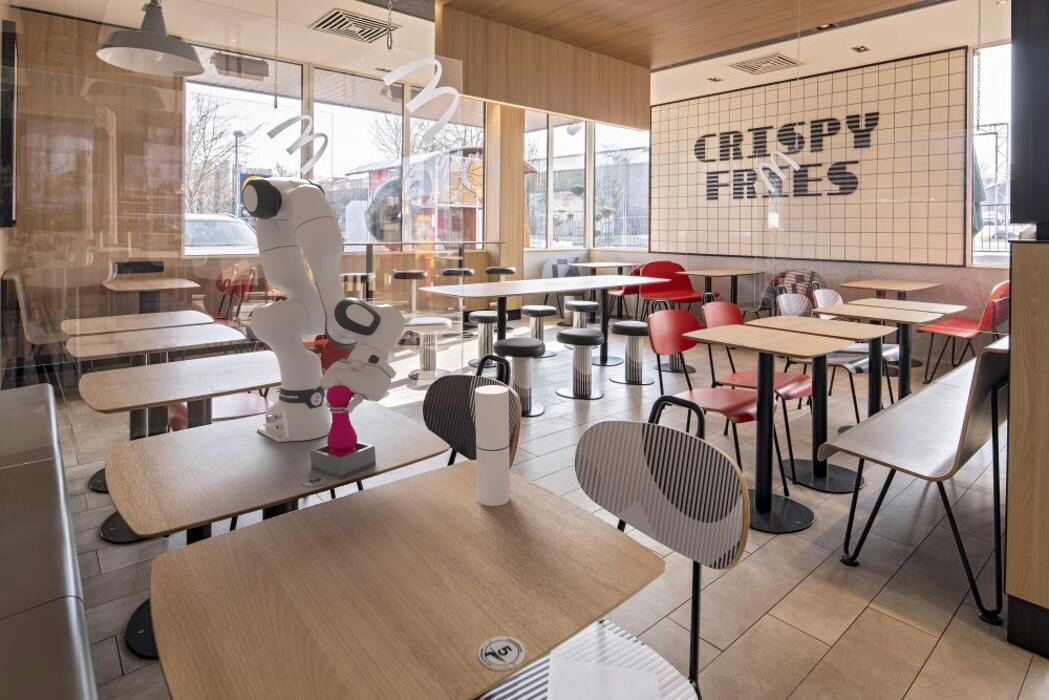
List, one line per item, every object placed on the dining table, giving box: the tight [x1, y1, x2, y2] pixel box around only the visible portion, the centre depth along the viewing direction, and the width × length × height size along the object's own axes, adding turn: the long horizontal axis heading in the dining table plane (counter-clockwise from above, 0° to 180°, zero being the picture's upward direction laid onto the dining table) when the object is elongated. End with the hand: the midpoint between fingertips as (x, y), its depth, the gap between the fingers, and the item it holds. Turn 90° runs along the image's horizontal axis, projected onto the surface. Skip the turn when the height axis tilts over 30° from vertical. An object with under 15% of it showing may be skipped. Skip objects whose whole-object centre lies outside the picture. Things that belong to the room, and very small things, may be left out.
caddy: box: [309, 440, 377, 480], centre depth 159 cm, size 11×11×5 cm
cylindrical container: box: [474, 384, 511, 507], centre depth 138 cm, size 7×7×25 cm
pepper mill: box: [325, 379, 358, 457], centre depth 157 cm, size 7×7×20 cm
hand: (338, 409), depth 156 cm, fingers closed on pepper mill, 5 cm apart
